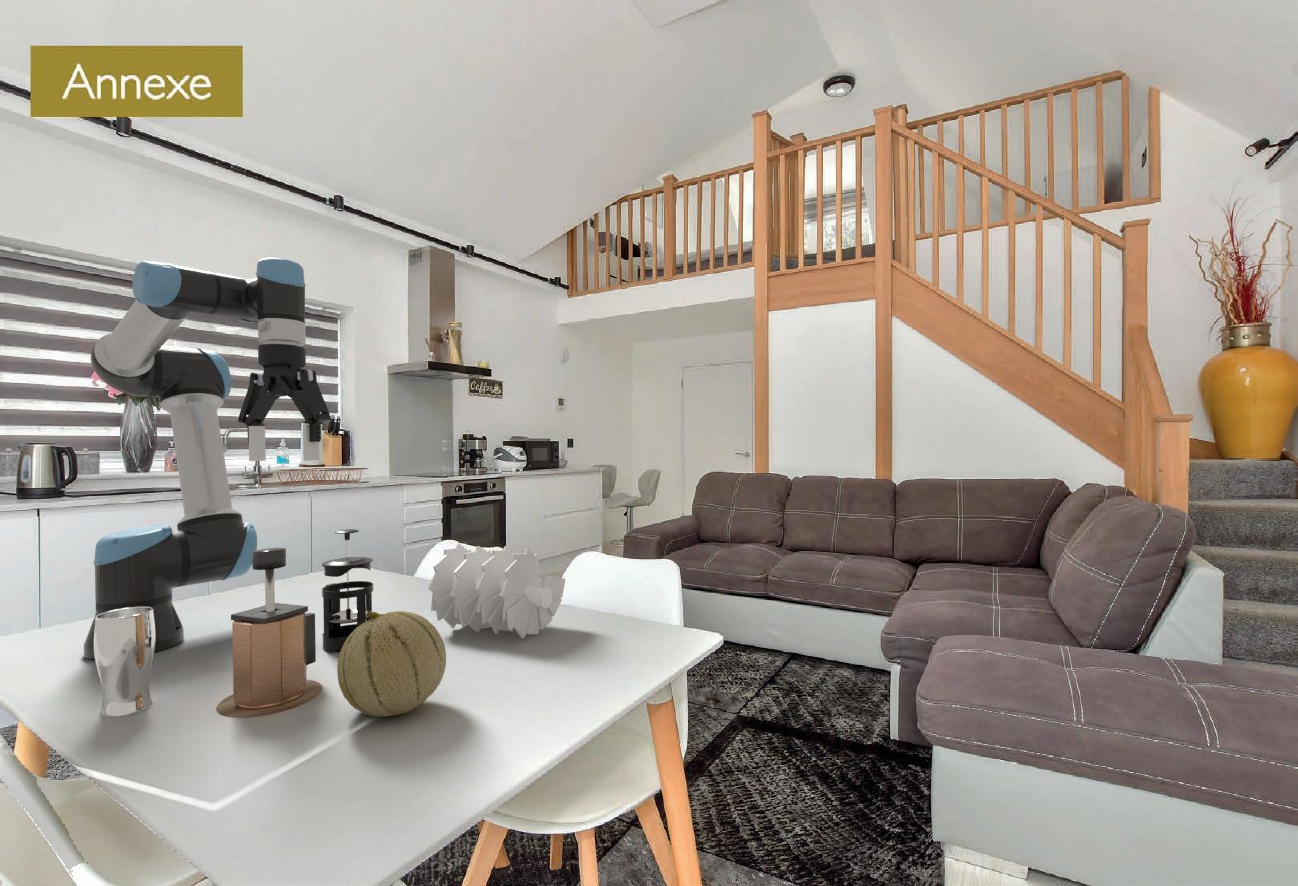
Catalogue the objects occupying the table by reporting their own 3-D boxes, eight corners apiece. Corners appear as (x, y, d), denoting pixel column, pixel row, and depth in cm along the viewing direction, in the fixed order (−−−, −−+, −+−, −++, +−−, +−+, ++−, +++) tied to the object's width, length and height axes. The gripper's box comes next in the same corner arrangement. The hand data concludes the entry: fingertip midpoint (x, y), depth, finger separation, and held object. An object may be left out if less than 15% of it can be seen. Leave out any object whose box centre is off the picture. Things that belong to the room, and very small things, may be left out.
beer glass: (105, 728, 86) (103, 621, 86) (87, 716, 89) (85, 614, 89) (164, 709, 92) (163, 609, 92) (145, 699, 95) (144, 603, 95)
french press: (387, 645, 120) (385, 528, 120) (341, 660, 112) (339, 534, 112) (352, 635, 126) (351, 524, 126) (306, 649, 118) (305, 530, 118)
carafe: (220, 705, 91) (219, 616, 91) (292, 676, 103) (291, 596, 103) (265, 713, 88) (263, 621, 88) (333, 682, 99) (332, 600, 99)
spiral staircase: (532, 664, 120) (434, 642, 129) (575, 605, 134) (483, 589, 144) (510, 589, 112) (407, 573, 122) (558, 535, 126) (462, 524, 136)
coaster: (193, 713, 90) (193, 709, 90) (279, 678, 103) (279, 675, 103) (261, 727, 85) (261, 723, 85) (343, 689, 98) (343, 685, 98)
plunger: (238, 689, 92) (236, 552, 92) (275, 675, 98) (273, 546, 98) (267, 694, 90) (265, 554, 90) (302, 679, 96) (300, 547, 96)
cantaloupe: (457, 717, 87) (455, 613, 87) (343, 746, 79) (341, 631, 79) (433, 684, 100) (432, 592, 100) (333, 705, 92) (331, 606, 92)
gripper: (214, 347, 113) (216, 461, 113) (315, 337, 104) (317, 461, 104) (253, 352, 120) (254, 460, 120) (350, 343, 111) (352, 459, 111)
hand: (283, 460), depth 112 cm, fingers open, 13 cm apart
